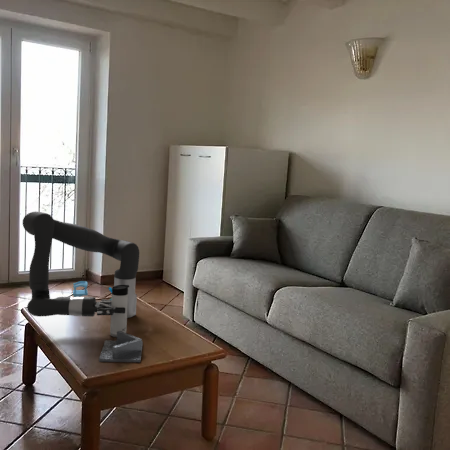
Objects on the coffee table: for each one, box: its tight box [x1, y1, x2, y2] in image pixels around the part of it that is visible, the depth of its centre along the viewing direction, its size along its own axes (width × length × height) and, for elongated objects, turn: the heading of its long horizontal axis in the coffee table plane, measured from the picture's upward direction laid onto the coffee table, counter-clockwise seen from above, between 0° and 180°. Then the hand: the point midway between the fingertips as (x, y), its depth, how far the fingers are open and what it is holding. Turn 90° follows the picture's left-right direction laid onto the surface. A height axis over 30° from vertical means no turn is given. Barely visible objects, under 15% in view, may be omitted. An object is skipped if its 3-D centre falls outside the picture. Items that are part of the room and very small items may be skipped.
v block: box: [98, 331, 144, 363], centre depth 186 cm, size 14×18×5 cm
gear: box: [108, 286, 113, 300], centre depth 248 cm, size 11×6×10 cm
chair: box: [72, 280, 89, 297], centre depth 237 cm, size 8×8×12 cm
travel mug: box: [109, 285, 129, 338], centre depth 203 cm, size 6×7×20 cm
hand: (125, 307), depth 204 cm, fingers closed on travel mug, 6 cm apart
